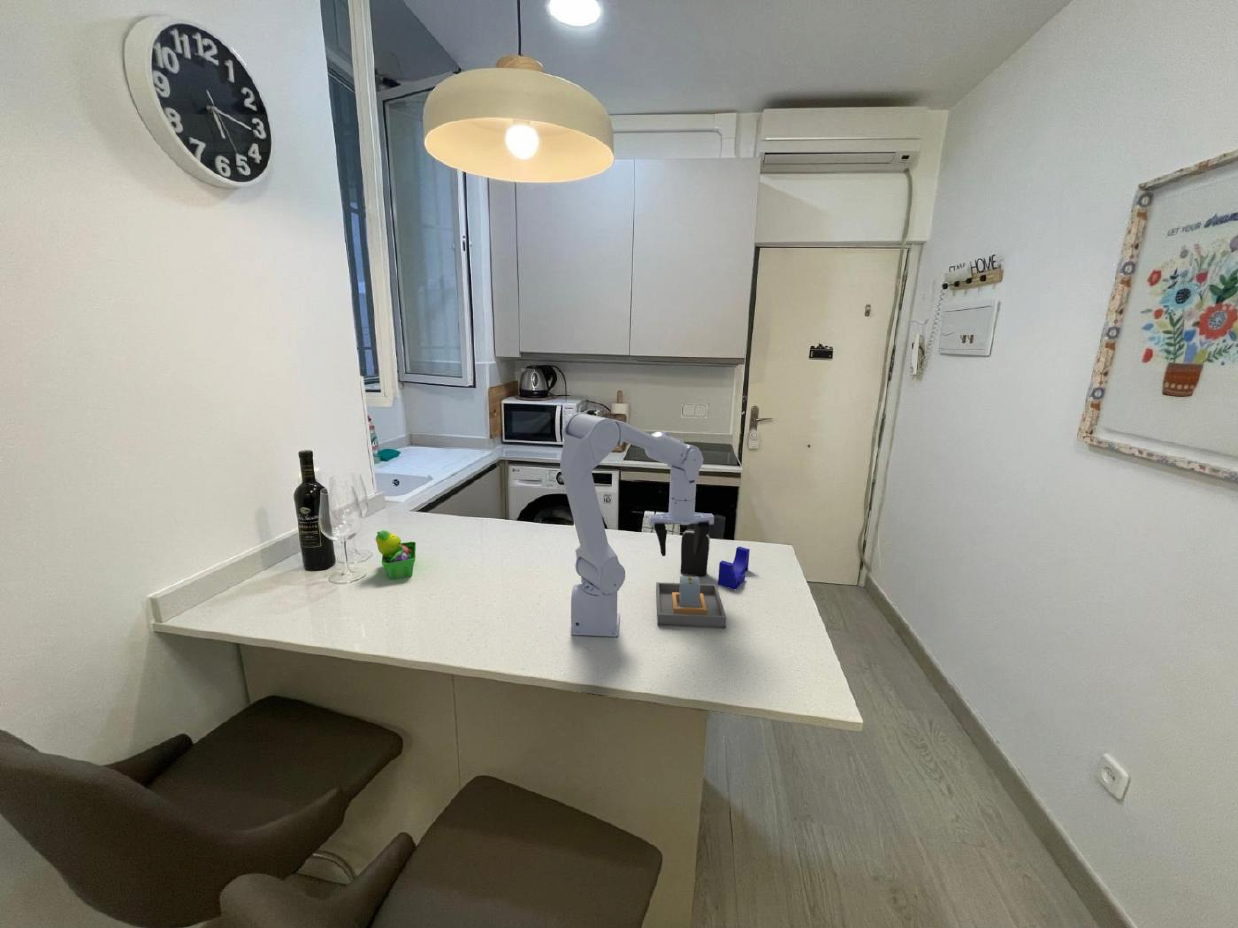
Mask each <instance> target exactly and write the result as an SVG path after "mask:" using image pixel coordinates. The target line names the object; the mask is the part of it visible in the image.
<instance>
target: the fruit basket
mask: <svg viewBox="0 0 1238 928" xmlns="http://www.w3.org/2000/svg"><path fill="white" fill-rule="evenodd" d="M376 534H377V535H376V536H375V542H376V544H377V550H378V552H379V553H380V554H381V555H382V558H381V565H382V566H383V568H384V570H385V572H386V575H387V577H388V579H389V580H393V579H401V578H406V577H412V576H413V571H414V565H415V562H416V550H417V549H416V548H417V542H415V541H407V542H402V539H401V538H400V536H398V535H396V534H394V533H392V532H390V531H387V530H385V529H383V530H381V531H379V530H378V531H377V532H376Z"/></svg>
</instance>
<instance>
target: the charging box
mask: <svg viewBox="0 0 1238 928" xmlns="http://www.w3.org/2000/svg"><path fill="white" fill-rule="evenodd" d="M679 589H680V582H661V581H660V582H656V585H655V598H656V599H655V600H656V601H655V602H656V622H657V624H656V625H657V626H664V627H665V626H666V627H667V626H668V627H684V628H685V627H688V628H708V629H709V628H710V629H711V628H714V629H726V625H727V624H726V623H727V616H726V613H725V609H724V605H723V603H722V602H723V601H722V599H721V596H720V591H719V589H718V584H714V583H713V584H712V583H711V584H709V583H700V600H699V608H697V607H679Z"/></svg>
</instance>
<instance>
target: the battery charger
mask: <svg viewBox="0 0 1238 928" xmlns="http://www.w3.org/2000/svg"><path fill="white" fill-rule="evenodd" d="M710 537H711V536H710V532H709V533H708V534H707V536H706V537H705V539H704V541H703V543H702V545H701V548H700V551H699V555H695V553H694V551H693V545H694V528H693V529H692V528H688V529H686V530H684V532H683V534H682V535H681V542H680V543H681V545H680V571H679V572H680V573H681V574H685V575H690V576H691V575H693V576H697V577H699V576H701V577H707V575H708V563H709V562H708V561H709V555H710V544H711V543H710V542H711V541H710V540H711V538H710Z"/></svg>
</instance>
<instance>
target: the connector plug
mask: <svg viewBox="0 0 1238 928" xmlns="http://www.w3.org/2000/svg"><path fill="white" fill-rule="evenodd" d="M679 583H680V589H679V607H697V608H699V600H700V584H701V583H700V578H699V576H691V575H688V576H681V575H680V576H679Z"/></svg>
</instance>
